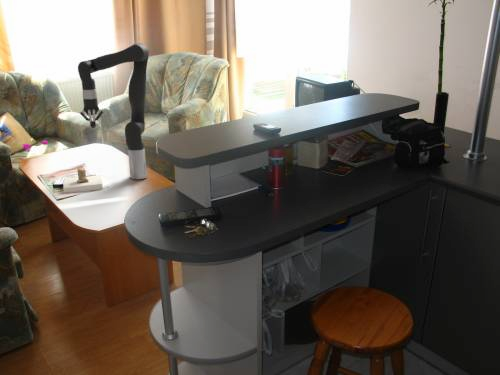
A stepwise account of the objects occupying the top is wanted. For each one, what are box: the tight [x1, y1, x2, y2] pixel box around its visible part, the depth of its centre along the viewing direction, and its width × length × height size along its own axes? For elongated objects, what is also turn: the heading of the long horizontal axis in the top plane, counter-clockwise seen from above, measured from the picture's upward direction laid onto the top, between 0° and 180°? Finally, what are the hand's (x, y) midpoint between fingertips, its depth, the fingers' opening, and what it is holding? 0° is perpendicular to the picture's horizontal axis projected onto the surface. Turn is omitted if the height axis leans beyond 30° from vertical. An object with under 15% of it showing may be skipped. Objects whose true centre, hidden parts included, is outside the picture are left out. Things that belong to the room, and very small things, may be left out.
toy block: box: [22, 140, 48, 150], centre depth 338 cm, size 15×6×8 cm, turn 133°
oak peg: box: [77, 167, 87, 183], centre depth 274 cm, size 4×4×10 cm
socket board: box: [62, 174, 104, 194], centre depth 275 cm, size 20×16×3 cm
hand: (93, 127), depth 283 cm, fingers closed
